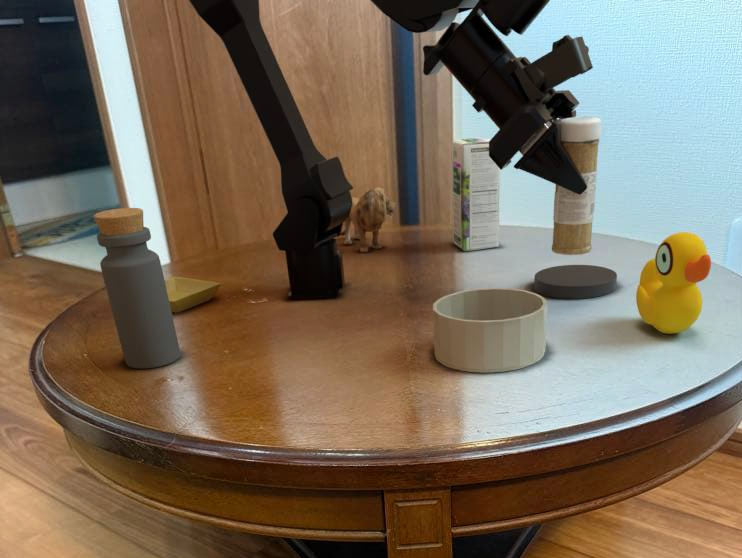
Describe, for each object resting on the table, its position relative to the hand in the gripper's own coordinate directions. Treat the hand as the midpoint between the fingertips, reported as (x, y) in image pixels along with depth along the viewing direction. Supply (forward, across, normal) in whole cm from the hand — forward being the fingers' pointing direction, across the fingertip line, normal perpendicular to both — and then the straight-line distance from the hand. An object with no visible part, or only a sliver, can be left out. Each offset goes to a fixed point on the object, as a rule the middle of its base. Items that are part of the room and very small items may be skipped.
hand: (587, 187), depth 87 cm
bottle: (-20, -27, +38) cm, 51 cm away
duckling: (+17, -8, +2) cm, 18 cm away
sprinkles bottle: (+4, 0, +6) cm, 7 cm away
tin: (+5, -18, +13) cm, 23 cm away
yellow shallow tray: (-26, -8, +45) cm, 53 cm away
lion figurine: (-17, +25, +36) cm, 48 cm away
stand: (+8, +7, +10) cm, 15 cm away
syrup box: (-5, +27, +24) cm, 37 cm away
